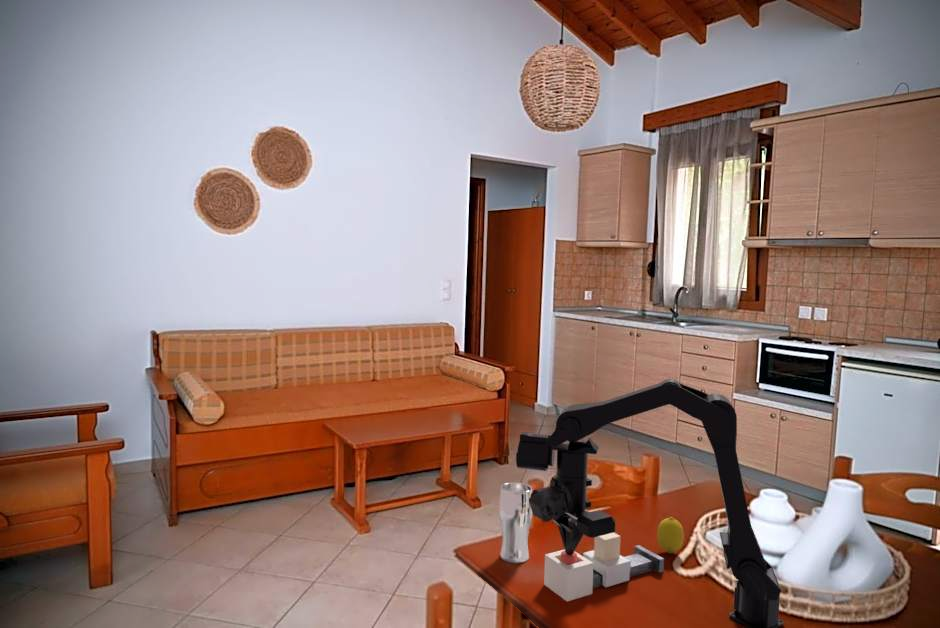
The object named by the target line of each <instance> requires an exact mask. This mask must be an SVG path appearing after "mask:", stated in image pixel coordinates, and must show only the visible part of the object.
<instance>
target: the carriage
mask: <svg viewBox="0 0 940 628" xmlns="http://www.w3.org/2000/svg"><path fill="white" fill-rule="evenodd" d="M593 545H594V547H593V549H592V550H588V551H586V552H585V551H584V552H583V554H582V556H583V557H585V558H586V559H588V560H589V561H591V562H593V569H594V570H596V571H597V572H599V573H600V574H602V575H603V582H602V585H603V587H604V588H609V587H612V586H615V585H619V584H621V583H626V582H628V581H630V577H629V573H630V567H631V561H630V560H628V559H626V558H625V557H626V556H623V555H621V535H619V534H617V532H613V533H610V534H606V535H602V536H598V537H594V542H593Z"/></svg>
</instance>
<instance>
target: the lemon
mask: <svg viewBox="0 0 940 628" xmlns="http://www.w3.org/2000/svg"><path fill="white" fill-rule="evenodd" d="M656 537H657V543H658V544H659V546H660V547H661V548H662V550H664V551H666V552H667V553H668V554H672V553H673V552H677V551H679V550H680V549H681V548H682V546H683V544H684V541H685V540H684V539H685V534H684V528H683V525H682V524H681V523H680V522H679V520H677V519H675V518H674V517H672V516H669V517H667V518H665V519H662V520H661V521H660V522H659V524H658V527H657V531H656Z"/></svg>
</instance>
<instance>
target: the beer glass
mask: <svg viewBox="0 0 940 628" xmlns="http://www.w3.org/2000/svg"><path fill="white" fill-rule="evenodd" d="M532 492H533V487H532V486H531V485H530V484H528V483H523V482H517V481H516V482H515V481H513V482H506V483H504V484H501V486H500V494H499V504H498V505H499V510H498V511H499V520H500V526H501V535H502V542H501V549H500V554H499V555H500V558H501V560H503V561H504V562H507V563H512V564H522V563H524V562H527V561H528V560H529V558H530V554H529V553H530V552H529V547H528V539H529V533H530V529H531V524H532V518H533V513H532V510H531V506H530V503H529V498H530V497H531V493H532Z"/></svg>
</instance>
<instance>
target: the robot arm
mask: <svg viewBox="0 0 940 628" xmlns="http://www.w3.org/2000/svg"><path fill="white" fill-rule="evenodd" d="M668 405H670V406H672V407H675V408H676V409H678V410H681V411H682V413H683V412H684V413H686V414H687V415H688V416H691V417H692V418H694V419H696V420H698V421H701V423H702V425H703V429H704V431H705V433H706V436H707V438H708V441H709V443H710V445H711V447H712V450H713V455H714V460H715V464H716V469H717V474H718V475H717V476H718V479H719V483H720V484H719V485H720V489H721V494H722V498H723V499H722V500H723V504H724V508H725V510H724V511H725V514H726V518H727V519H726V520H727V532H726V531H720V532H719V536H720V541H721V545H722V548H723V551H722V553H723V556H724V562H725V563H724V564H725V567H726V569H727V570H729V569H730V570H731V573H732V576H733V577H734V578H735V580H736V587H734V591H733V592H734V593H733V610H734V611H731V612H729V614H728V615H729V618H731V619H733V620H735V621H737V622H738V623H740V624H742V625H743V626H745V627H747V628H781V627H782V626H785V622H784V621H783V620H782V619H780V618H779V614H780V600H781V599H780V597H781V594H782V590H781V589H782V588H781V587H780V583H779V581H778V578H777V576H776V572H775V571H774V568H773V566H772V565H771V564H770V563H769V562H768V561H767V559H765V557H764V555H763V552H762V548H761V546H760V544H759V542H758V539H757V537H756V533H755V531H754V528H753V526H752V524H751V523H752V522H751V518H750V517H751V516H750V514H749V508H748V504H747V499H746V495H745V493H746V492H745V488H744V484H743V479H742V474H741V468H740V464H739V460H738V459H739V458H738V453H737V439H738V437H737V436H738V435H737V434H738V426H737V425H738V423H737V422H738V421H737V420H738V418H737V417H738V415H737V412H736V410H735V408H734V406H733V404H732V402H731V401H730V399H729V398H728V397H726V396H724V395H723V394H720V393H710V394H709V393H706V392H704V391H702V390H699V389H697V388H694V387H692V386H689V385H685V384H683V383H681V382H679V381H677V380H676V379H673V378H667V379H664V380H662V381H661V382H658V383H656V384H652V385H649V386H647V387H643V388H639V389H637V390H634V391H631V392H629V393H625V394H622V395H619V396H615V397H613V398H610V399H607V400H603V401H597V402H585V403H577V404H572V405H568V406H567V407H565V408H564V409H563V410H562V412H561V413H560V414H559V416H558V417H557V419H556V422H555V428H554V429H552V430H551V431H550V432H549V433H548V435H547V434H536V433H531V432H526V431H523V432H522V433H520V435H519V441H518V446H517V452H516V453H515V461H516V462H515V463H516V467H517V468H518V469H524V470H534V471H541V472H548V470H549V469H550V468H549V467H554V464H555V460H556V476H552V477H551V479H550V482H549V483H550V485H549V486H547V487H546V486H545V487H540V488H534V489H533V490H532V493H531V497H530V498H529V503H530V506H531V510H532V516H533V517H535V518H536V517H537V518H538V519H540V520H541V521H542V522H545V523H547V522H550V521H553V523H555V524H556V526H557V528H558V531H559V534H560V538H561V542H562V545H563V548H564V549H565V552H566V554H568V555H572V554H573V553H574V551H575V552H576V549H577V547H578V545H579V543H580V542H581V540H582V538H583V536H586V537H587V538H594V539H595V537H598V536H602V535H606V534H610V533H613V532H614V533H616V519H615V518H614V516H612V515H610V514H607V513H606V512H604V511H602V510H600V509H597V510H594V511H590V510H588V508H591V507H592V501H590V500H589V499H587V496H588V495H587V494H588V493H587V492H588V488H587V487H591V486H592V485H593V480H592V479H590V478H588V462H589V459H588V458H589V454H590V455H597V453H598V451H599V445H597V444H596V443H595V442H594V441H593V439H592V438H591V437H588V436H590V435H591V434H593V433H595V432H597V431H598V430H600V429H601V428H603V427H605V426H606V425H608V424H610V423H611V424H612V423H615V422H617V421H621V420H624V419H627V418H630V417H632V416H636V415H639V414H643V413H645V412H649V411H651V410H654V409H659V408H661V407H664V406H668ZM586 437H588V438H587V439H586V440H585V441H582V439H584V438H586ZM566 442H568V443H566Z"/></svg>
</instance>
